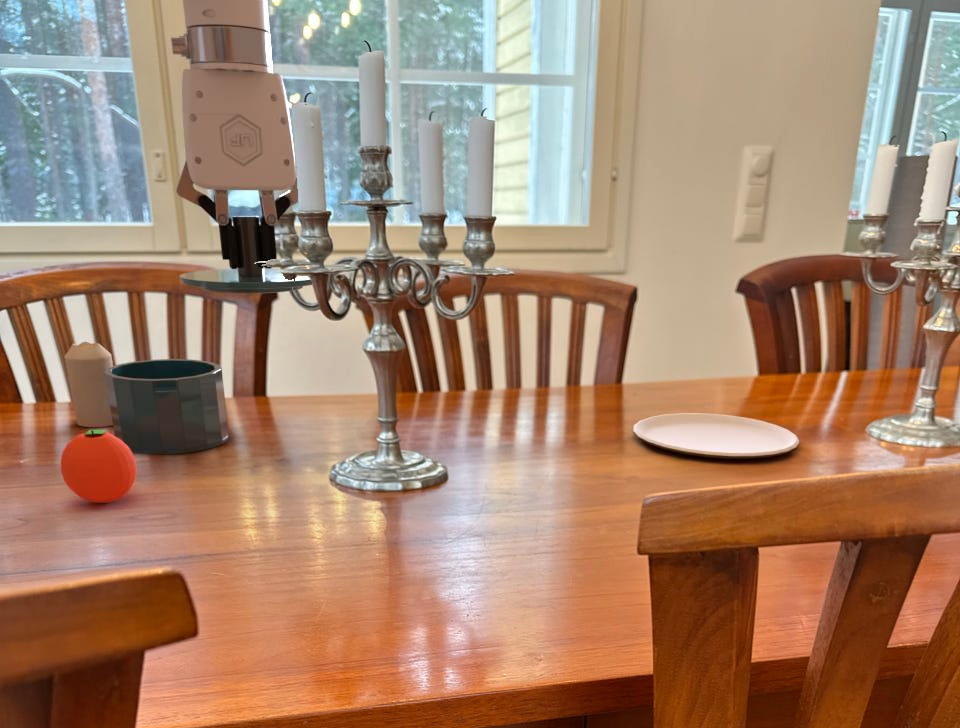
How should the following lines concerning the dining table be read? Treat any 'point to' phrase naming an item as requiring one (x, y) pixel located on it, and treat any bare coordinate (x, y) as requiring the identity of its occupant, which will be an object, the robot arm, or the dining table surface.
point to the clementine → (98, 466)
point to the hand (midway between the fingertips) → (250, 265)
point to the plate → (716, 436)
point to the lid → (245, 267)
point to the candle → (89, 383)
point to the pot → (167, 405)
